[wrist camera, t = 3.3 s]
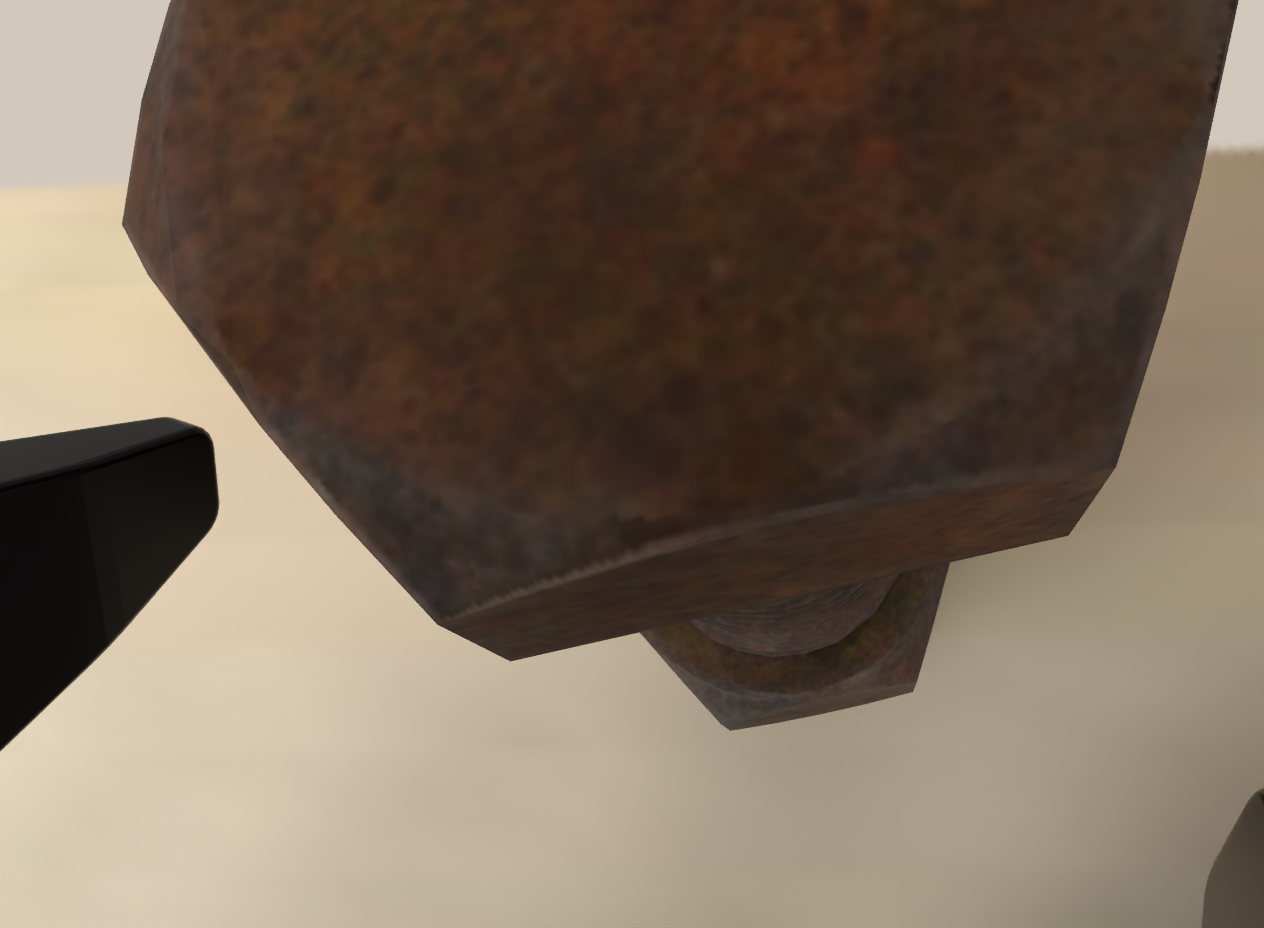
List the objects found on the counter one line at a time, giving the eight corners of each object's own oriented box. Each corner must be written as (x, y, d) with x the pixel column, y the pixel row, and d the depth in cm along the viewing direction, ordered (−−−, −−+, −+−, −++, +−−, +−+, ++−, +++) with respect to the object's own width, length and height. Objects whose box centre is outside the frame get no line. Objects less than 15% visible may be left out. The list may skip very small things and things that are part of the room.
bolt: (586, 587, 20) (-56, 25, 6) (788, 405, 20) (635, -537, 6) (808, 844, 18) (634, 910, 4) (1029, 635, 18) (1612, -4, 4)
